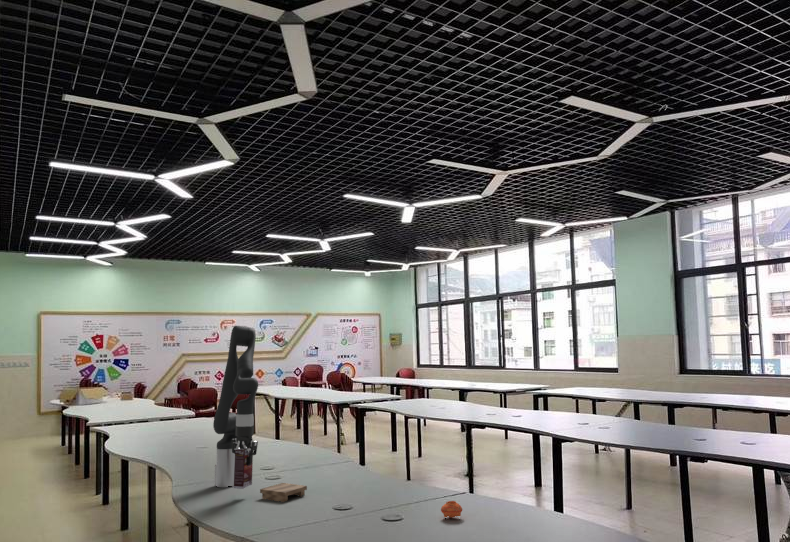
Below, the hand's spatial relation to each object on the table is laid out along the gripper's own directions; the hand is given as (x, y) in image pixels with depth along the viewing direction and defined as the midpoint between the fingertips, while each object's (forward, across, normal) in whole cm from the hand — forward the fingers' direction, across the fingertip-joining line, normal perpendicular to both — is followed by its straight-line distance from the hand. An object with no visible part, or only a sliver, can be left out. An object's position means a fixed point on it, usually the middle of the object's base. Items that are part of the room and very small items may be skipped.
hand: (243, 464), depth 268 cm
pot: (+13, +92, +15) cm, 94 cm away
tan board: (+14, +14, +10) cm, 22 cm away
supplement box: (+9, 0, 0) cm, 9 cm away
